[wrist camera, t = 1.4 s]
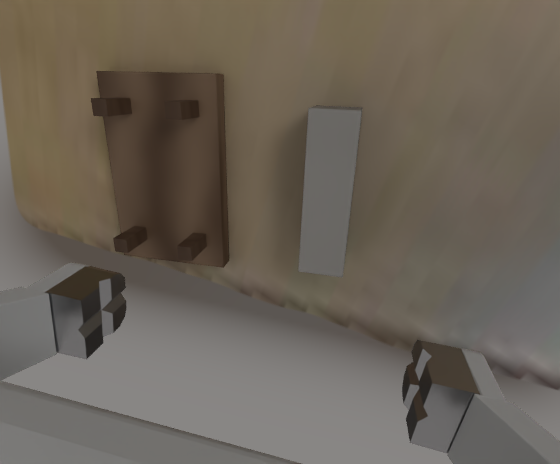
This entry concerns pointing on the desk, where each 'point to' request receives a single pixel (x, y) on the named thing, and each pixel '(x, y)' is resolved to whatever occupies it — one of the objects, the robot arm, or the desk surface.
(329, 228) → the grey rectangular block
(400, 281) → the desk surface
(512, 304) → the desk surface
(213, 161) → the footed brown board
